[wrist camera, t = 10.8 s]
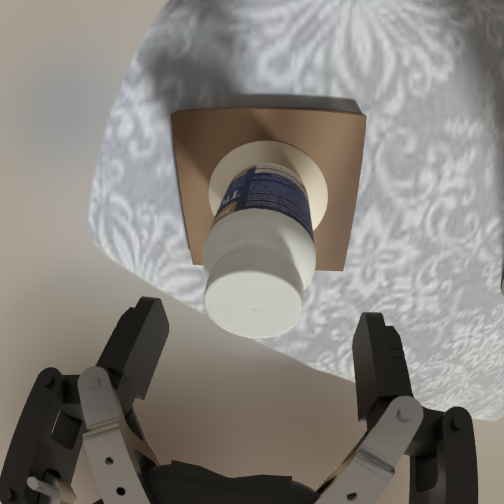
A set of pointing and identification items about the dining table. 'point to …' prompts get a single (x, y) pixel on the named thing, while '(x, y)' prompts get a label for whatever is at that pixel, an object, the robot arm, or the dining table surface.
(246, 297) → the pill bottle
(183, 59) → the dining table surface
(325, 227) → the rest board
